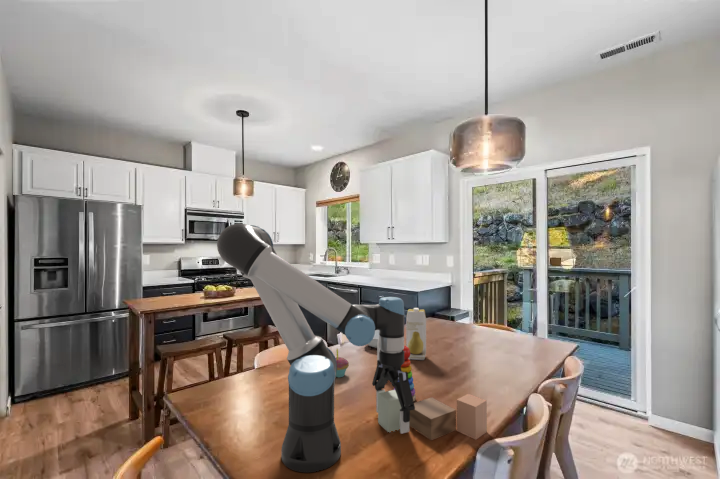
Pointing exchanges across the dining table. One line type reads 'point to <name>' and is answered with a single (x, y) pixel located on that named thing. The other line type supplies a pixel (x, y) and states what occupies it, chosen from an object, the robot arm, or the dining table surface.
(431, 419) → the walnut block
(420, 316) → the juice carton
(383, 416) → the sage block
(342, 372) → the cupcake
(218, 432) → the dining table surface
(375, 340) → the serving bowl
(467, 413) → the terracotta block
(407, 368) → the stacking toy
